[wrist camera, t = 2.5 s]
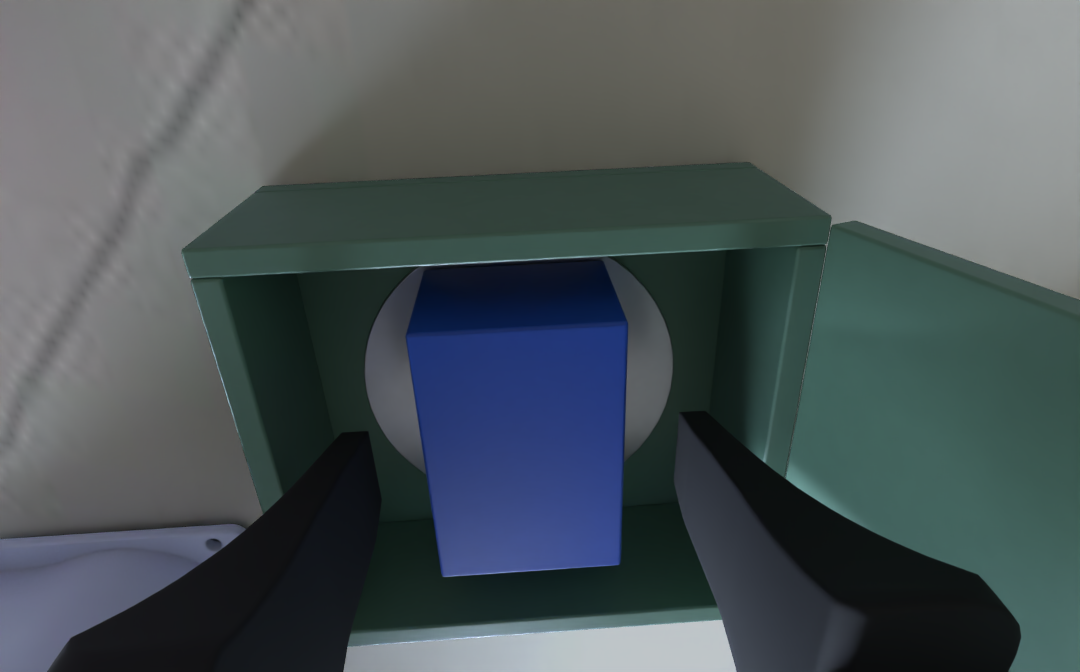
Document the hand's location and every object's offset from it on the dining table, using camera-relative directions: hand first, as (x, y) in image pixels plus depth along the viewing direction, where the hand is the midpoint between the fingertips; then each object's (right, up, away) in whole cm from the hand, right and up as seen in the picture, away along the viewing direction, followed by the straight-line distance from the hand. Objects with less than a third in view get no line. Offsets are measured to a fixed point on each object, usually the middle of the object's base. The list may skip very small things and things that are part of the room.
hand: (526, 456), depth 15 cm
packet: (0, +2, +3) cm, 3 cm away
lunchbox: (0, +2, +4) cm, 4 cm away
